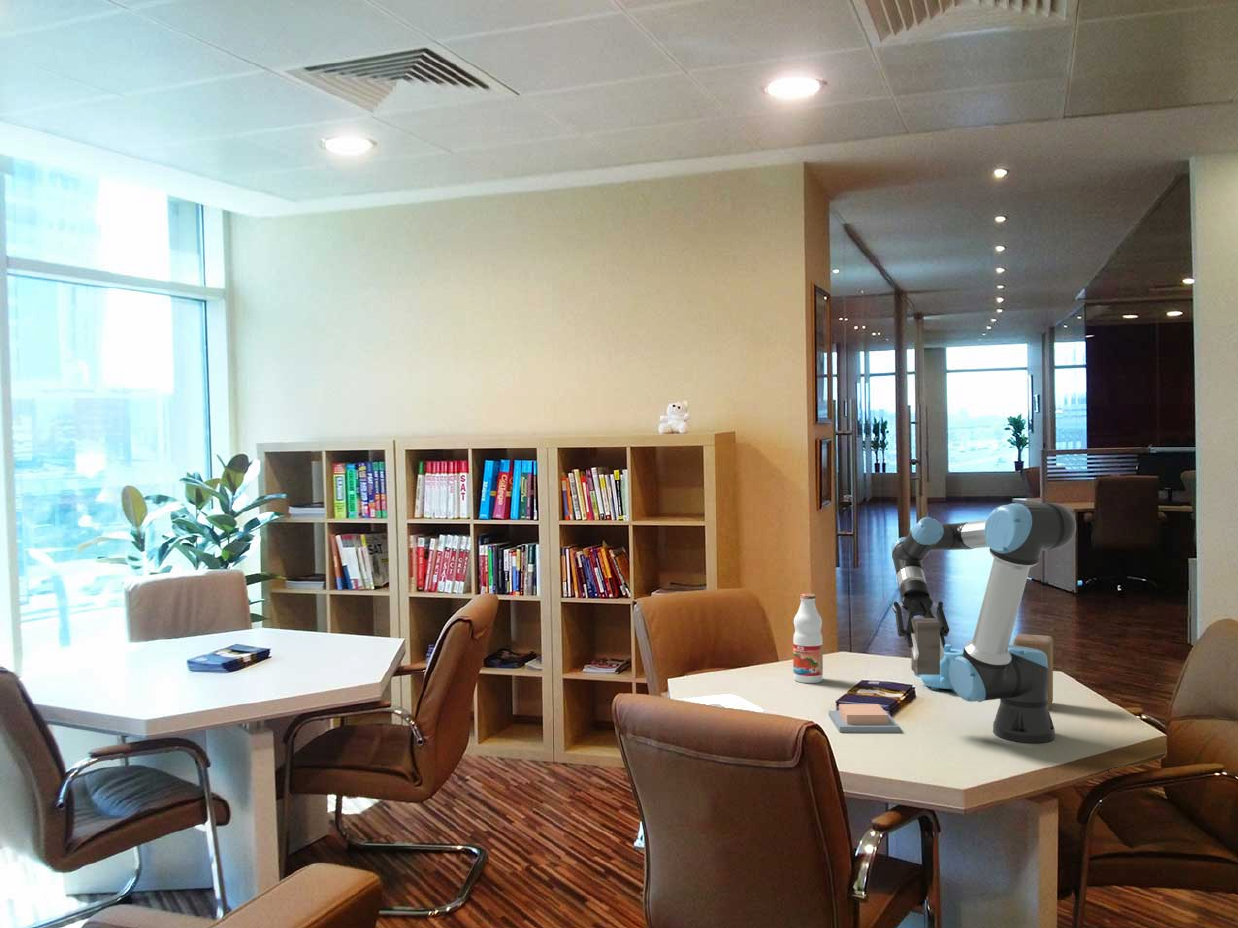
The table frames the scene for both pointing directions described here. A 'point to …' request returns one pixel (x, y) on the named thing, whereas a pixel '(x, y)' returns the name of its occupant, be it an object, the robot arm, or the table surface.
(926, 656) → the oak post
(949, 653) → the decorative pot
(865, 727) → the plinth
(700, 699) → the computer
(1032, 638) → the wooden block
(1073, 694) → the table surface
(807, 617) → the fruit juice
